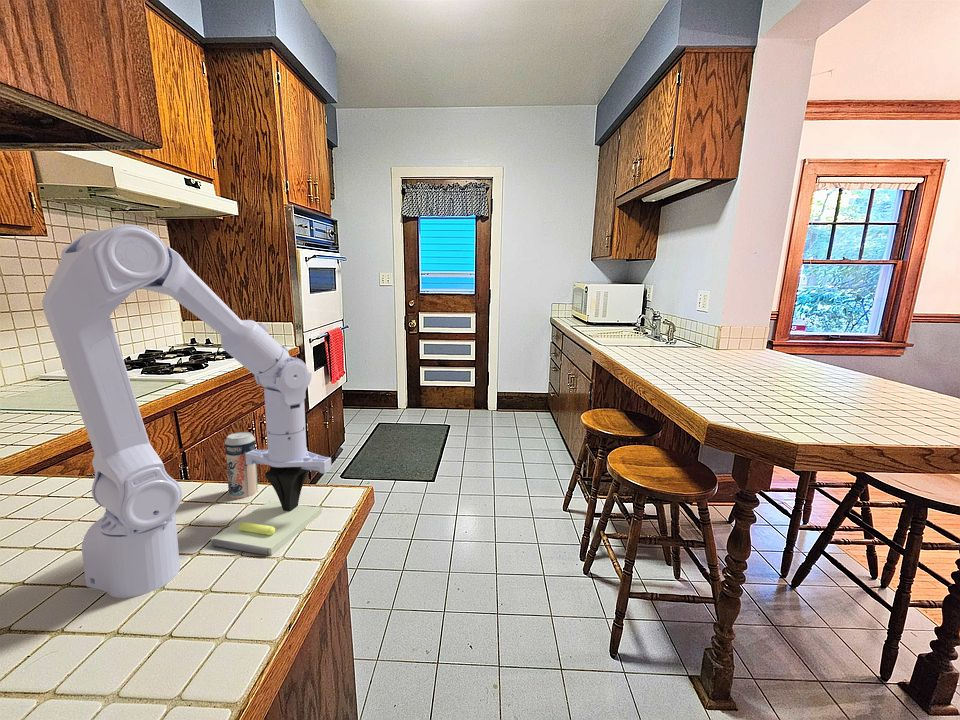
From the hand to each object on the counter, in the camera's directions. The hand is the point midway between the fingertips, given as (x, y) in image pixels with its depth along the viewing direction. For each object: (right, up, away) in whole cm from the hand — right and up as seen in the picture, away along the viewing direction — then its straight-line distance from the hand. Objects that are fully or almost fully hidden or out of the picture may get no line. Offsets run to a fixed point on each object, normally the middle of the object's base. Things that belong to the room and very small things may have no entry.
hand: (290, 508), depth 70 cm
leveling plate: (-1, -2, -5) cm, 5 cm away
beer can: (-12, -1, +7) cm, 14 cm away
